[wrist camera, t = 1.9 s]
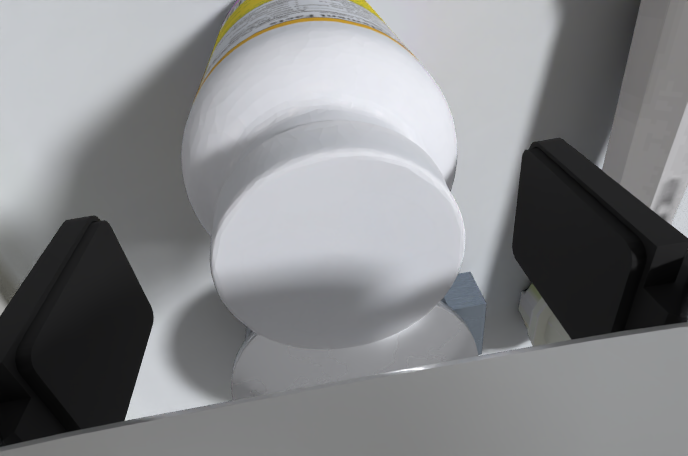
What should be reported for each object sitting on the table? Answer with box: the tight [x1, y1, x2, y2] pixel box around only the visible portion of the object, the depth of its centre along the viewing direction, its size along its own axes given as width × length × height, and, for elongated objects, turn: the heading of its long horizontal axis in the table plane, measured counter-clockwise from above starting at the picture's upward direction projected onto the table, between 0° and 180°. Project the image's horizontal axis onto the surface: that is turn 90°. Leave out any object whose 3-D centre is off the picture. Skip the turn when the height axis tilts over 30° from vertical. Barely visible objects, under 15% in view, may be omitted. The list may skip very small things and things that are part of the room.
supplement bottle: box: [181, 0, 465, 350], centre depth 14 cm, size 7×7×13 cm
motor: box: [231, 272, 486, 400], centre depth 25 cm, size 12×13×6 cm
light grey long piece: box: [518, 0, 688, 346], centre depth 22 cm, size 5×7×25 cm
